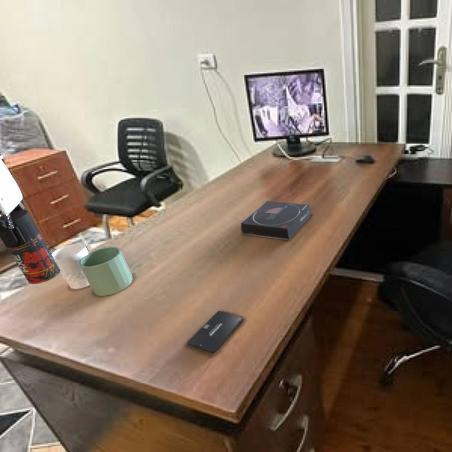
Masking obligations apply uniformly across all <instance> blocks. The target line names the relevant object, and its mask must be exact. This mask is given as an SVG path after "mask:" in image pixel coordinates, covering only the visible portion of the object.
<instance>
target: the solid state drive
mask: <svg viewBox="0 0 452 452" xmlns="http://www.w3.org/2000/svg"><path fill="white" fill-rule="evenodd" d="M243 321H244V318H243V317H242V316H239V315H235V314H232V313H229V312H225V311H222V310H217V312H216V313H214V314H213V316H211V318H209V319H208V321H207V322H206V323H204V324H203V326H201V328H200V329H199V330H198V331H196V333H194V334H193V335H192V337H190V339H188V341H187V343H186V344H187V345H188V346H190V347H193V348H196V349H198V350H201V351H204V352H206V353H209V354H211V355H213V354H215V353H216V352H217V350H219V348H220V347H221V346H223V344H224V343H225V341H226V340H227V339H228V338H229V337H230V336H231V335H232V333H233V332H235V330H236V329H237V328H238V327H239V326H240V325H241V324H242V322H243Z"/></svg>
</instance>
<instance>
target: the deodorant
mask: <svg viewBox="0 0 452 452" xmlns="http://www.w3.org/2000/svg"><path fill="white" fill-rule="evenodd" d="M9 214H10V216H11V219H12V222H13V225H14V227H15V226H17V227H18V229H19V230H20V232H21V234H22V236H23V237H24V239H25V241H26V244H25V245H21V246H17V247H12V248H7V247H6V249H7V250H8V252H9V253H10V255H11V257H12V259H13V260H14V262H15V263H16V265H17V266H18V268H19V269H20V271H21V273H22V274H23V277H25V280H27V282H28V284H30V285H38V284H43V283H45V282H48V281H51V280H52V279H54V278H55V277H57V276H58V275H59V274H60V269H59V267H58V265H57V263H56V261H55V260H54V258H53V256H52V252H51V250H50V249H49V247H48V245H47V243H46V242H45V240H44V238H43V236H42V234H41V232H40V231H39V229H38V227H37V225H36V224H35V222H34V220H33V218H32V217H31V214H30V213H29V211H28V210H27V211H26V210H17V211H12V212H10V213H9ZM0 220H2V221H4V222H6V221H5V218H4V217H1V218H0Z"/></svg>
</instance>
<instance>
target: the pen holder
mask: <svg viewBox="0 0 452 452" xmlns="http://www.w3.org/2000/svg"><path fill="white" fill-rule="evenodd" d="M88 253H89V254H87V255H86V256H84V257H83V258H82V259H81V260H80V262H79V265H80V267H81V269H82V271H83V273H84V275H85V277H86V279H87V280H88V282H89V284H90V285H89V286H90V288H91V290H92V291H93V293H94V294H95V295H96V296H100V297H106V296H110V295H114V294H117V293H119V292H121V291H123V290H125V289H126V288H128V287H129V286H130V285H131V284H132V282H133V281H134V276H133V273H132V271H131V269H130V267H129V265H128V262H127V261H126V258H125V256H124V254H123V251H122V250H121V248H120V247H117V246H105V247H102V248H98V249H95V250H93V251H90V252H88Z"/></svg>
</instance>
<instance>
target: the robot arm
mask: <svg viewBox="0 0 452 452" xmlns="http://www.w3.org/2000/svg"><path fill="white" fill-rule="evenodd" d="M2 159H4V156H3V154H2V151H0V212H1V213H0V218H1V217H4V218H5V221H6V222H4V221H2V220H0V240H1V241H2V243H3V244H4V246H5V248H6V249H7V248H12V247H17V246H21V245H25V244H26V241H25V239H24V237H23V236H22V234H21V232H20V230H19V229H18V227H17V226H15V227H14V225H13V222H12V219H11V216H10V214H9V213H10V212H12V211H17V210H26V211H28V209H27V208H26V206H25V205H24V201H23V194H22V192H21V189H20V187H19V185H18V183H17V182H16V180H15V178H14V177H13V175H12V174H11V172H10V171H9V169H8V167H7V166H6V164H5V163H4V161H3V160H2Z"/></svg>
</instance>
